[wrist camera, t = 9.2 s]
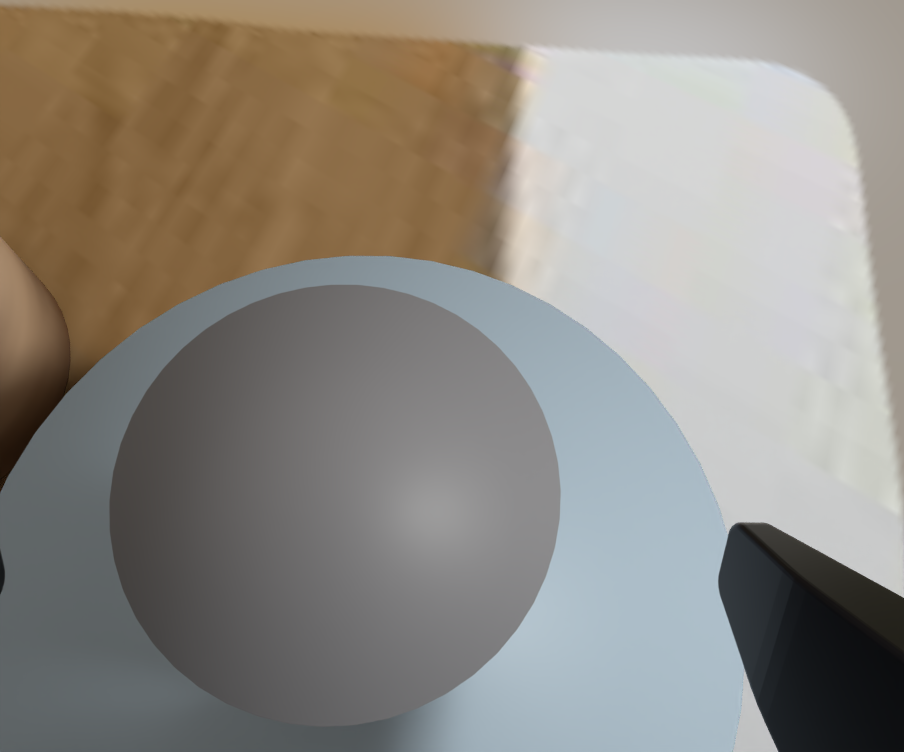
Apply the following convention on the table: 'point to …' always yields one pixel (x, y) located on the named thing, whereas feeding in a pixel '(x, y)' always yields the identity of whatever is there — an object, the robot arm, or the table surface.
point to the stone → (27, 356)
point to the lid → (363, 534)
